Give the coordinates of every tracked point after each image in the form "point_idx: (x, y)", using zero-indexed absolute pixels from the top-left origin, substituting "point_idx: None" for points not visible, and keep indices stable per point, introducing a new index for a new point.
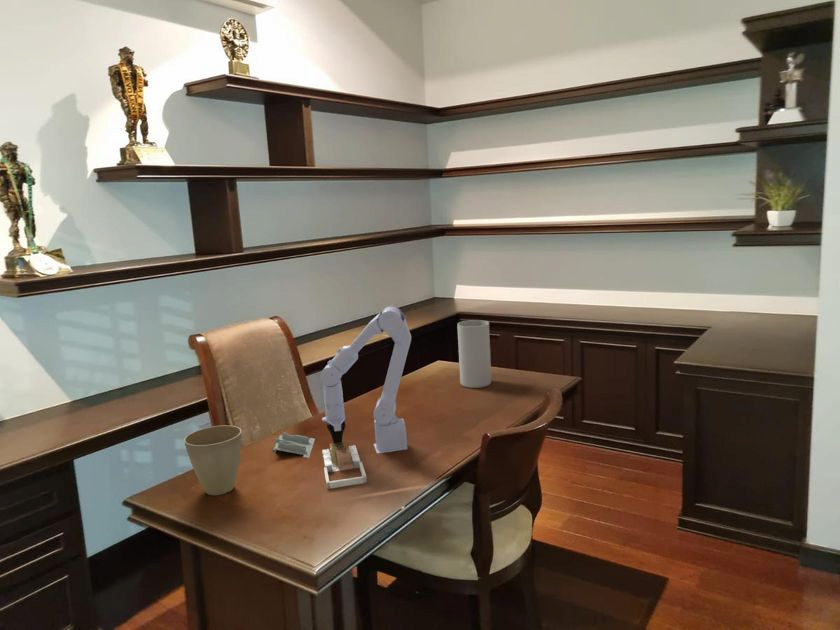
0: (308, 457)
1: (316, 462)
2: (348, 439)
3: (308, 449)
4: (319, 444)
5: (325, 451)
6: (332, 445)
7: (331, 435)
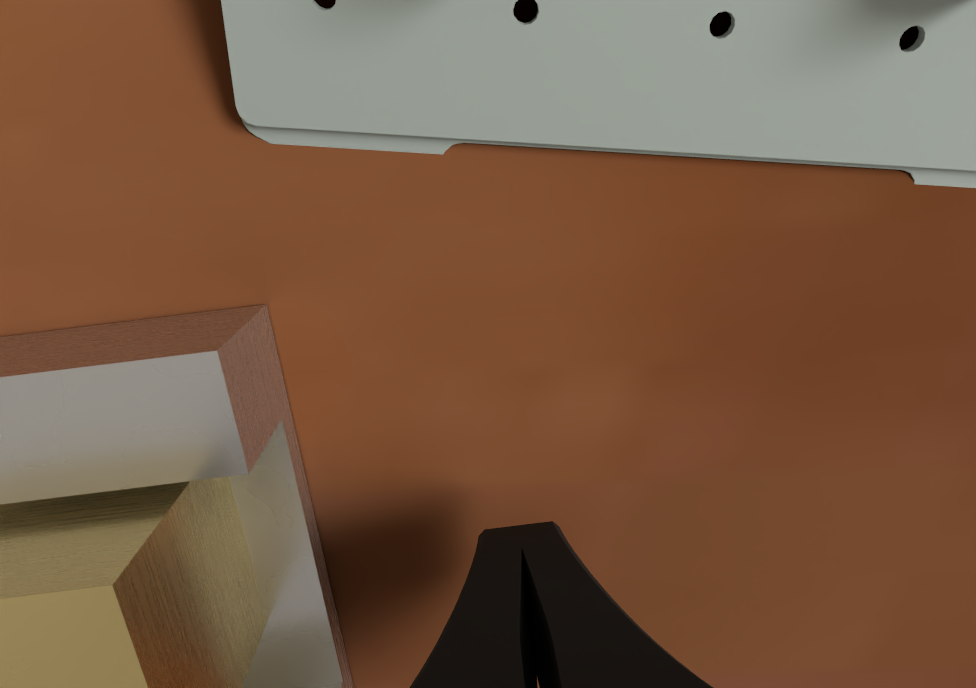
0: (231, 37)
1: (93, 201)
2: (891, 627)
3: (609, 10)
4: (887, 206)
5: (124, 418)
6: (22, 644)
7: (417, 680)
